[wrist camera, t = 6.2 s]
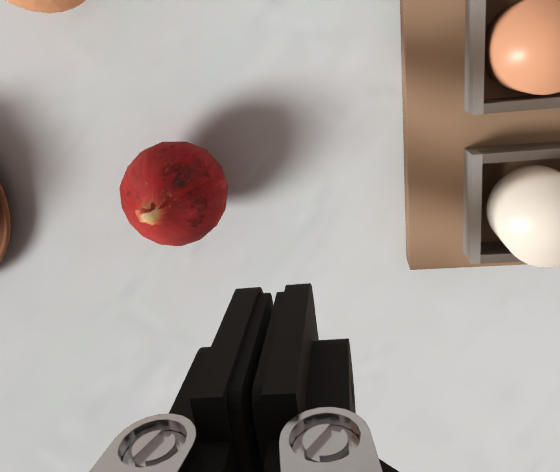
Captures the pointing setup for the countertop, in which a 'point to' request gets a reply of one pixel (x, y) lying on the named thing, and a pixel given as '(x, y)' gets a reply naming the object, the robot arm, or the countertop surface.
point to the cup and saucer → (4, 224)
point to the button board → (462, 133)
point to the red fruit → (174, 193)
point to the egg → (46, 5)
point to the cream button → (528, 214)
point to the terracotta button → (525, 47)
